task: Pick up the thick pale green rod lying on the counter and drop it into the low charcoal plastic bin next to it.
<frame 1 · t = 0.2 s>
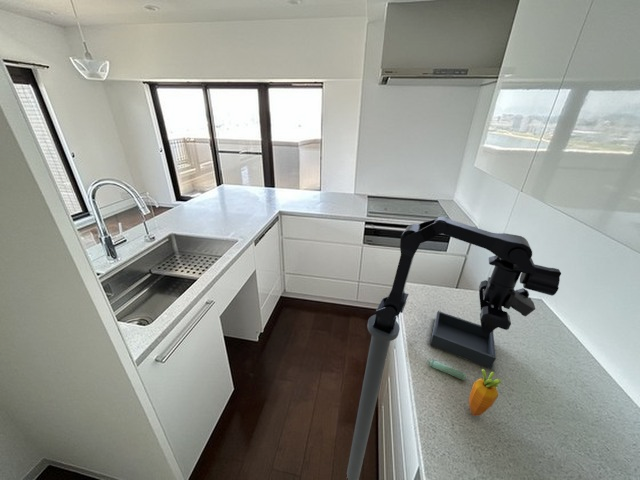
hand: (483, 325, 76), 14 cm above the worktop, tool pointing down, fingers open, 9 cm apart
bin: (459, 342, 87), on the worktop
carrot: (472, 415, 65), on the worktop
pale green rod: (446, 371, 76), on the worktop
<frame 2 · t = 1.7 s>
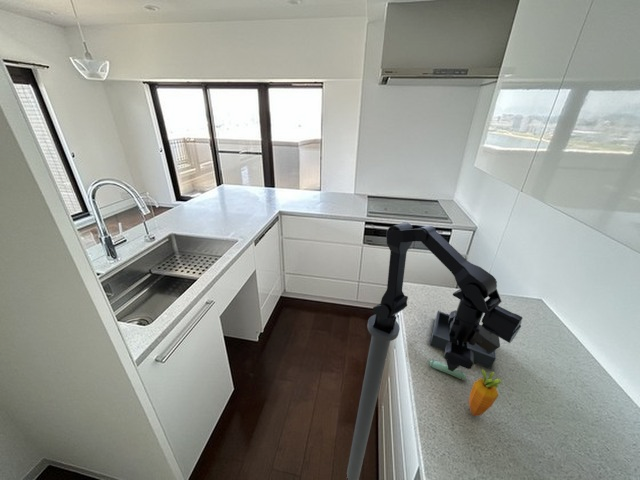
hand: (451, 358, 74), 6 cm above the worktop, tool pointing down, fingers open, 9 cm apart
nothing on the worktop moved.
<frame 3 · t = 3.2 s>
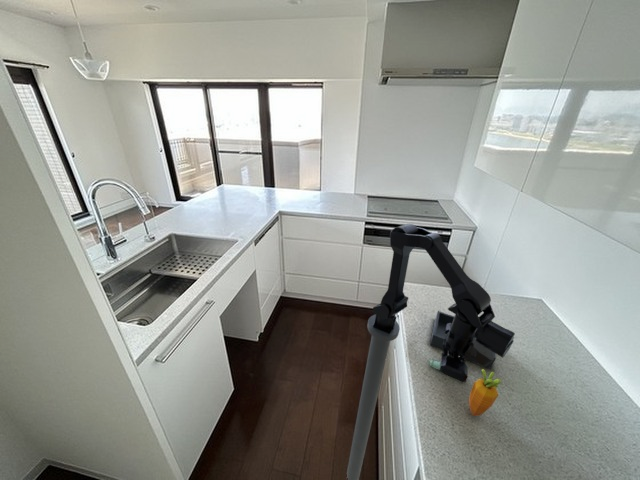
hand: (447, 369, 76), 1 cm above the worktop, tool pointing down, fingers closed on pale green rod, 2 cm apart
pale green rod: (446, 371, 76), on the worktop, touching gripper
everything else where it was.
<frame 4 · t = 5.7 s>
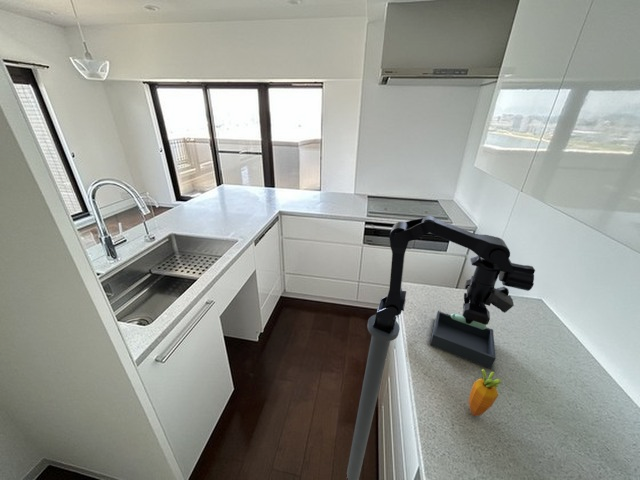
hand: (467, 321, 81), 11 cm above the worktop, tool pointing down, fingers closed on pale green rod
pale green rod: (467, 323, 81), point 10 cm above the worktop, touching gripper
everything else where it was.
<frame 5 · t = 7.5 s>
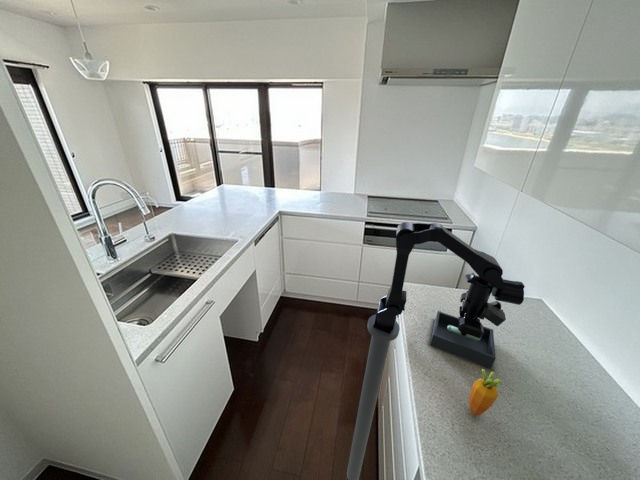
hand: (463, 332, 85), 4 cm above the worktop, tool pointing down, fingers closed on pale green rod, 2 cm apart
pale green rod: (462, 335, 85), point 3 cm above the worktop, touching gripper
everything else where it was.
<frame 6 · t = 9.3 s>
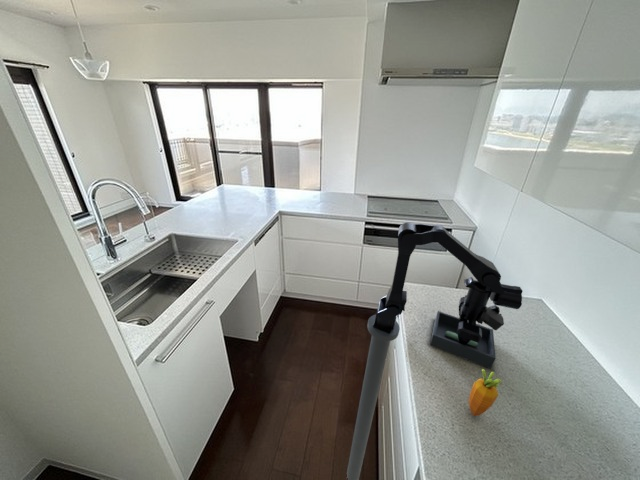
hand: (462, 336, 86), 3 cm above the worktop, tool pointing down, fingers open, 9 cm apart
pale green rod: (460, 340, 87), point 1 cm above the worktop, touching bin
everything else where it was.
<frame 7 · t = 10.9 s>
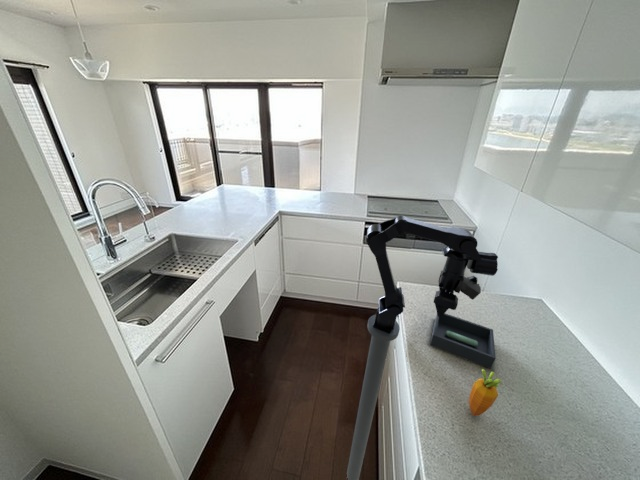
hand: (440, 308, 86), 11 cm above the worktop, tool pointing down, fingers open, 9 cm apart
pale green rod: (460, 340, 87), point 1 cm above the worktop, tilted 9°, touching bin
everything else where it was.
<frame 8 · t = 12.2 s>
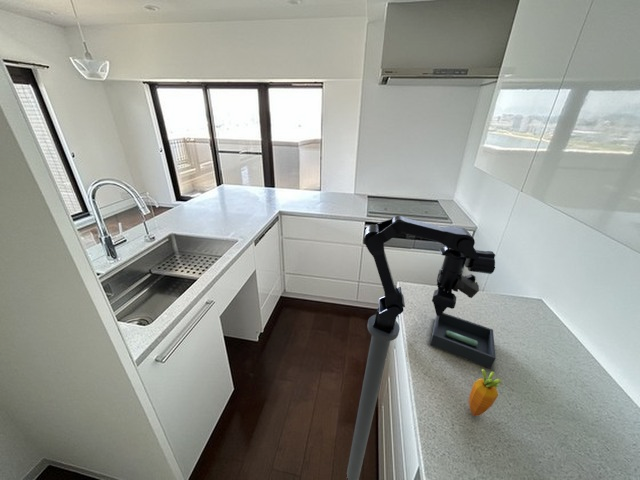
hand: (439, 307, 86), 11 cm above the worktop, tool pointing down, fingers open, 9 cm apart
nothing on the worktop moved.
at the end: pale green rod inside the target area in the bin (0.0 cm from its centre), point 0.6 cm above the bin's base; the gripper is holding nothing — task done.
